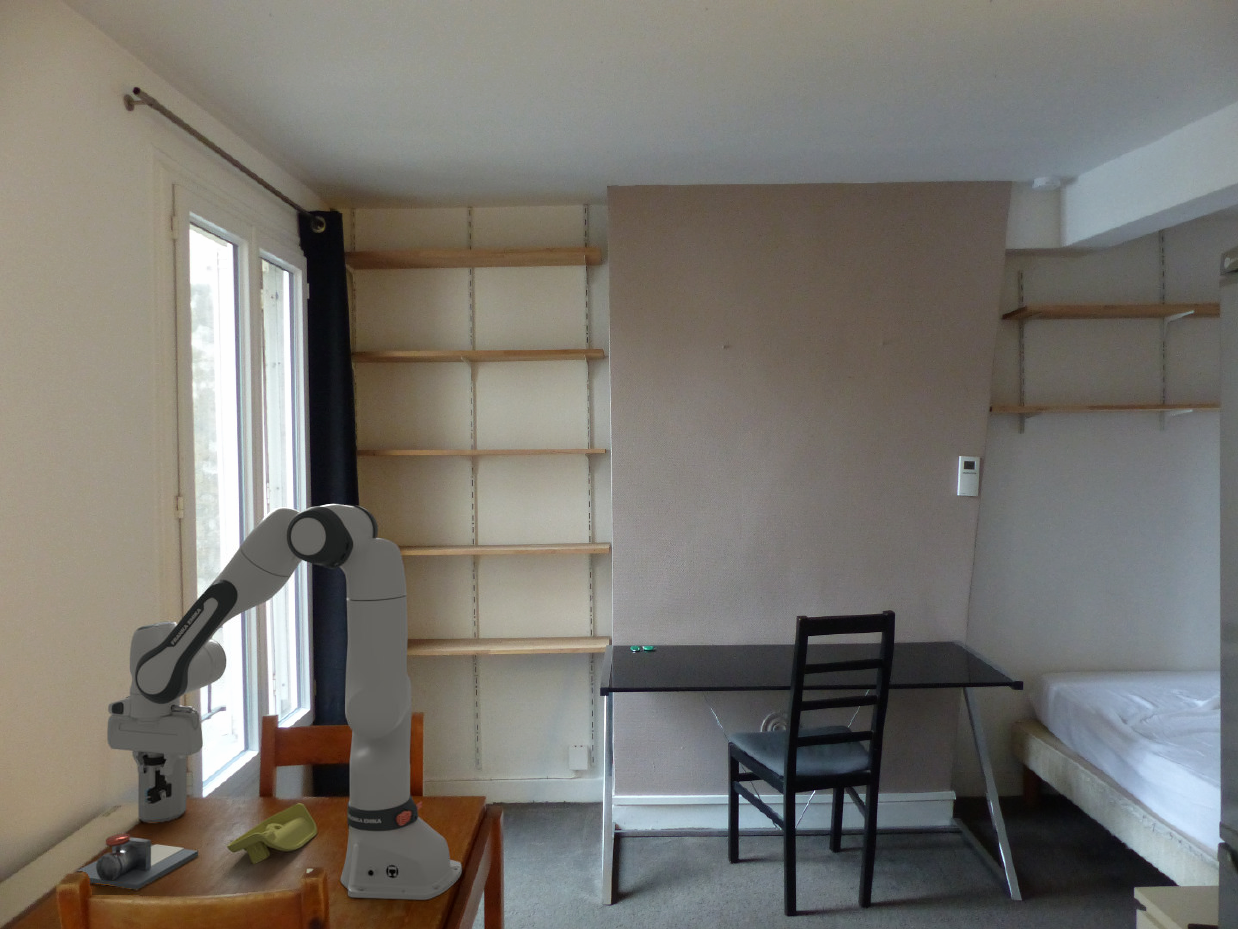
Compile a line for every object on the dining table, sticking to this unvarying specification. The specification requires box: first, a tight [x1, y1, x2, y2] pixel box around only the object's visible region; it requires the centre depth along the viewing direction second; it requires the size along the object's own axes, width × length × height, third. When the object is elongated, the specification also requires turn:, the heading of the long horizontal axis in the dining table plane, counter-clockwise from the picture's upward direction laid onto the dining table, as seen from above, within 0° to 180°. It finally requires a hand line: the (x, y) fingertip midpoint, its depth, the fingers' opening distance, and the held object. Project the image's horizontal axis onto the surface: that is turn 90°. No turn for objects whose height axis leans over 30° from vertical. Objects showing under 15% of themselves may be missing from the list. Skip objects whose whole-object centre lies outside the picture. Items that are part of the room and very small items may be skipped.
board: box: [74, 844, 199, 890], centre depth 167 cm, size 16×15×1 cm
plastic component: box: [226, 802, 318, 865], centre depth 175 cm, size 20×7×10 cm
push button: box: [141, 752, 172, 805], centre depth 171 cm, size 7×5×10 cm
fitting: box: [96, 833, 152, 882], centre depth 163 cm, size 8×6×7 cm
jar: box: [137, 752, 187, 824], centre depth 193 cm, size 10×10×18 cm
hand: (155, 773), depth 171 cm, fingers closed on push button, 4 cm apart
